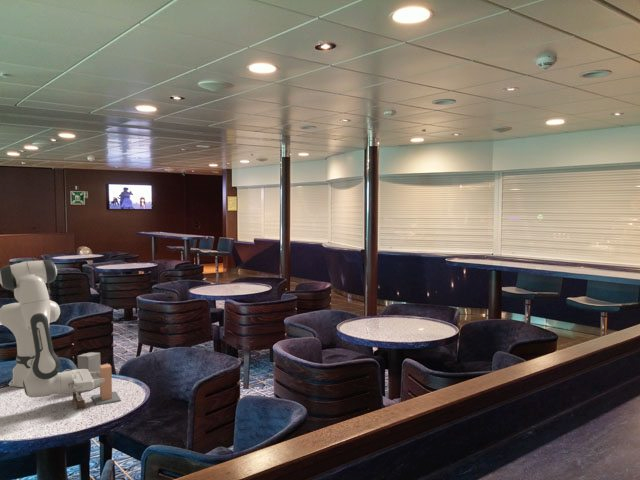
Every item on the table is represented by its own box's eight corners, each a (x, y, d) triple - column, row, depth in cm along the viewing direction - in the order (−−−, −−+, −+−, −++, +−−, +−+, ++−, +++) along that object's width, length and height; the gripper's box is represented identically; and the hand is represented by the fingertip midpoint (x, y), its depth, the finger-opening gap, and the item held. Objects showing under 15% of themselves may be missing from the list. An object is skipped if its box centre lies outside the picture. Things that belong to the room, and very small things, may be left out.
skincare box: (89, 391, 236) (88, 357, 236) (76, 389, 239) (76, 355, 238) (102, 385, 244) (101, 352, 244) (90, 383, 247) (89, 350, 246)
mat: (91, 396, 229) (91, 395, 229) (115, 392, 234) (115, 391, 234) (95, 405, 219) (95, 404, 219) (120, 401, 224) (120, 399, 224)
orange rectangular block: (100, 396, 228) (99, 365, 227) (109, 394, 230) (109, 363, 229) (102, 400, 223) (101, 368, 223) (111, 398, 226) (111, 366, 225)
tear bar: (72, 399, 226) (72, 391, 226) (80, 397, 228) (80, 390, 227) (76, 409, 214) (76, 401, 214) (84, 408, 216) (84, 400, 216)
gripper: (70, 381, 209) (106, 376, 217) (64, 368, 227) (98, 363, 234) (70, 396, 210) (106, 390, 217) (65, 382, 227) (99, 377, 234)
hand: (102, 376), depth 226 cm, fingers open, 8 cm apart
